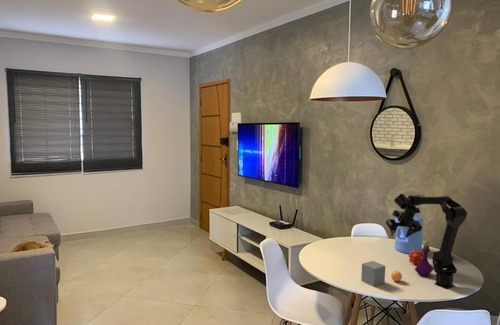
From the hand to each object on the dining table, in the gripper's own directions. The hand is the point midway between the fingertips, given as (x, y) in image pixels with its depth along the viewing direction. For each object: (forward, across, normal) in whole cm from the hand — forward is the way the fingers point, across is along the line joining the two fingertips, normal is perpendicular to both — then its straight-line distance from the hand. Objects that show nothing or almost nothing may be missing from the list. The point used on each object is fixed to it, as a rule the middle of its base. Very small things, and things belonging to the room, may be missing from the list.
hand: (398, 236), depth 211 cm
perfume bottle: (+5, -6, +23) cm, 24 cm away
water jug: (+20, -19, -11) cm, 30 cm away
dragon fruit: (+11, -11, +10) cm, 18 cm away
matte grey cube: (+6, +25, +28) cm, 38 cm away
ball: (+2, +13, +27) cm, 30 cm away
